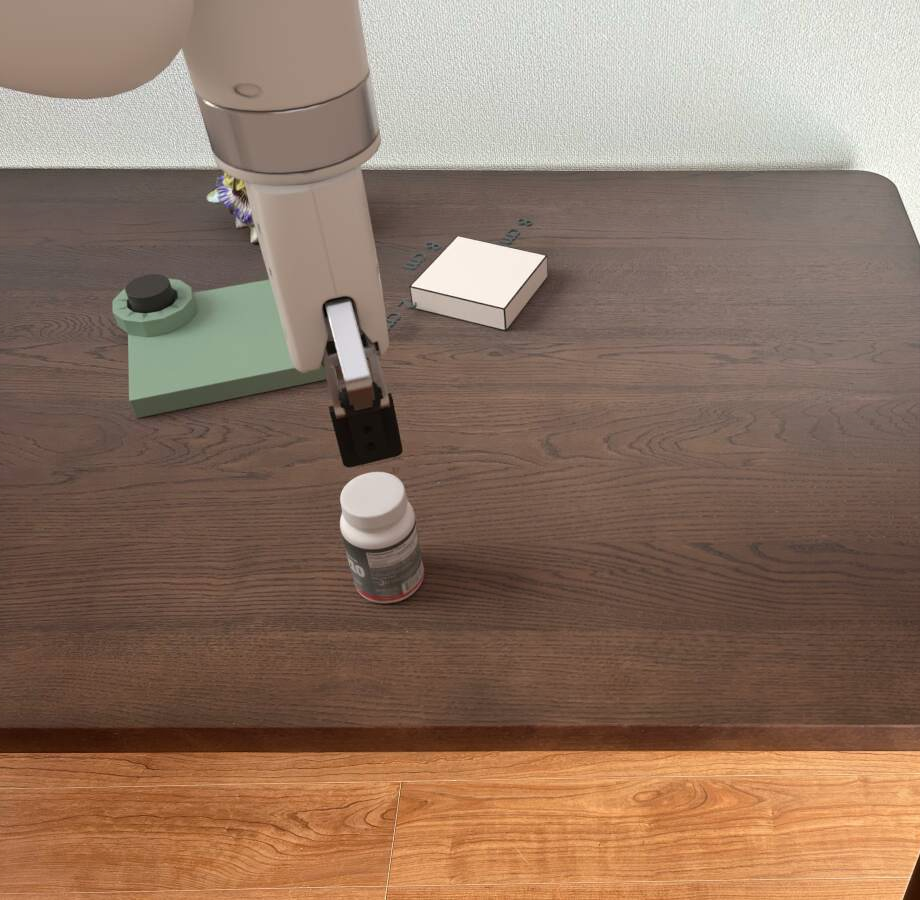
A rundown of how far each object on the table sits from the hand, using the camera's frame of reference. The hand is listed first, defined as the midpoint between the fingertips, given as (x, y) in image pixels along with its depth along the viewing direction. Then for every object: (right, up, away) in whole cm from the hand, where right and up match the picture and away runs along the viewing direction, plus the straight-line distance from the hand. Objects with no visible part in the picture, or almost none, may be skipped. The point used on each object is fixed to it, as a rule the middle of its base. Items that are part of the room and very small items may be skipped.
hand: (357, 402), depth 56 cm
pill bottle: (0, -12, +11) cm, 16 cm away
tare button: (-25, +10, +29) cm, 39 cm away
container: (+2, +12, +36) cm, 38 cm away
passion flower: (-18, +21, +45) cm, 52 cm away
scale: (-18, +6, +29) cm, 35 cm away
